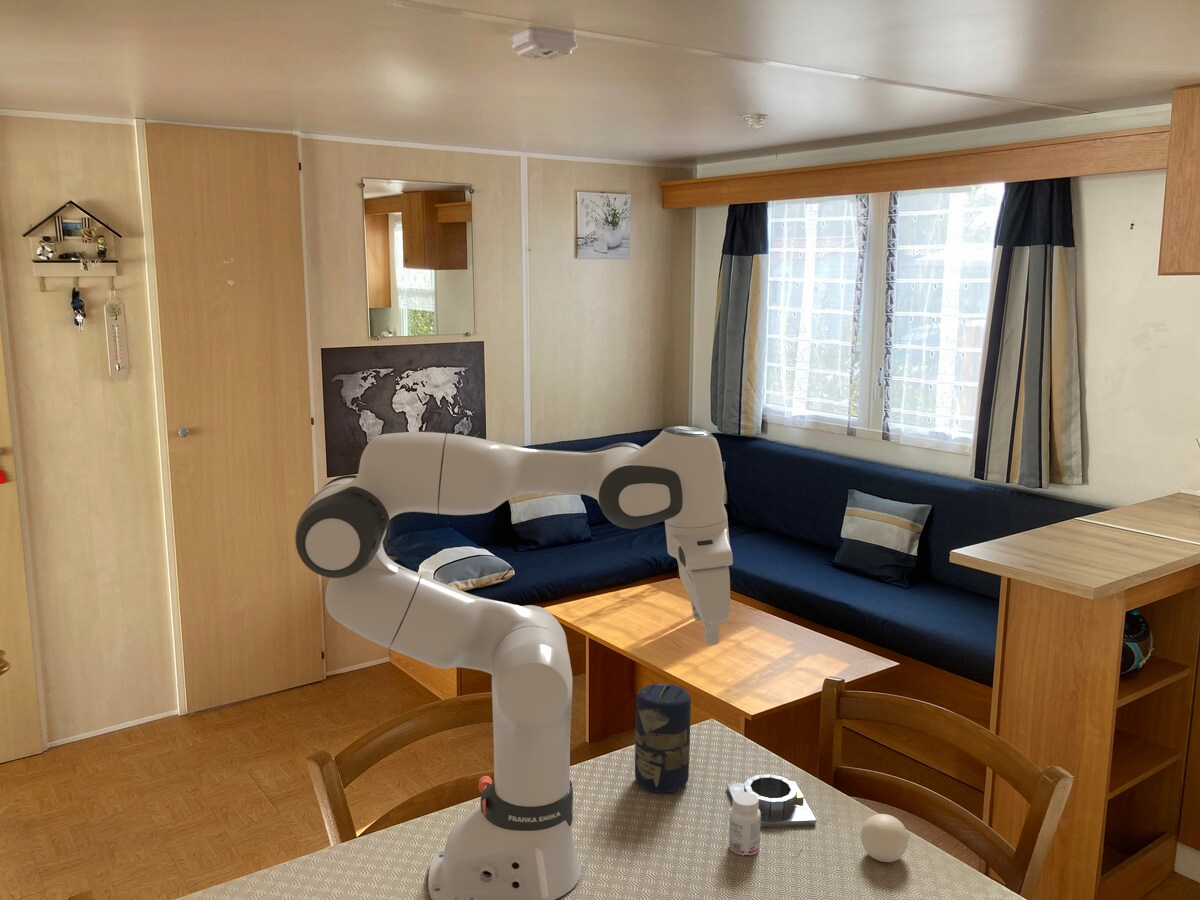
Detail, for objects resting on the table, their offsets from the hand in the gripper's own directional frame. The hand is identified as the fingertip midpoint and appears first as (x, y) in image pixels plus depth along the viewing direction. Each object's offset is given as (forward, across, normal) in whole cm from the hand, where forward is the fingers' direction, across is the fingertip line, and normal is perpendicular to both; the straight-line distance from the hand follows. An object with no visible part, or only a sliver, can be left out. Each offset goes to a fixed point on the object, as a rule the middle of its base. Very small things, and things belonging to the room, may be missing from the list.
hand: (705, 630), depth 139 cm
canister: (+37, -24, -6) cm, 45 cm away
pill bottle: (+38, -4, +4) cm, 39 cm away
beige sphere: (+41, 0, +24) cm, 48 cm away
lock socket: (+39, -15, +11) cm, 43 cm away
